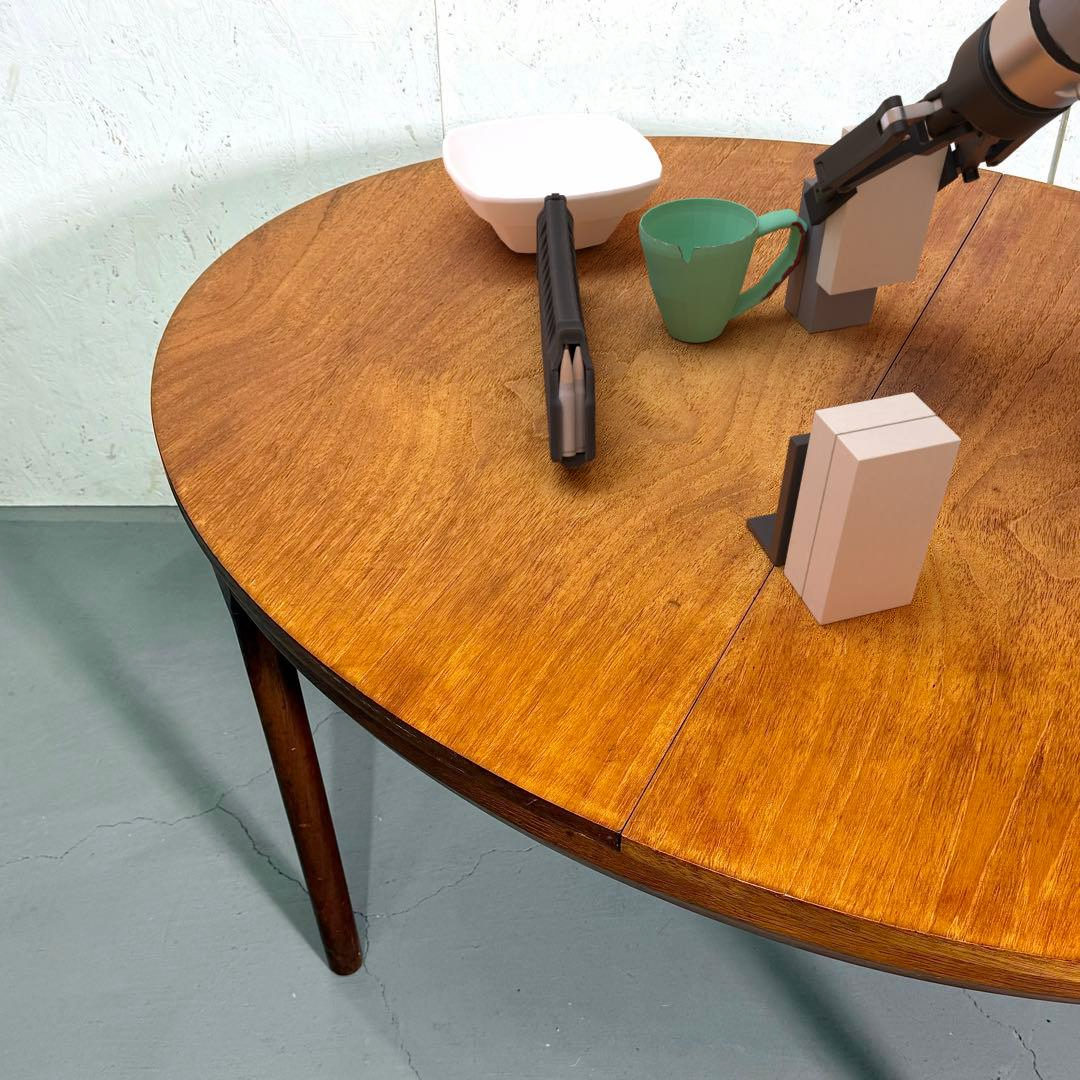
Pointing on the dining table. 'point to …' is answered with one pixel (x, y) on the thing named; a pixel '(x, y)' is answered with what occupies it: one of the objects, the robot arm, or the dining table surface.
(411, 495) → the dining table surface
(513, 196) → the bowl
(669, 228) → the mug
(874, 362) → the dining table surface
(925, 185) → the thin book
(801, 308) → the grey books
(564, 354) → the magazine
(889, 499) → the white books
